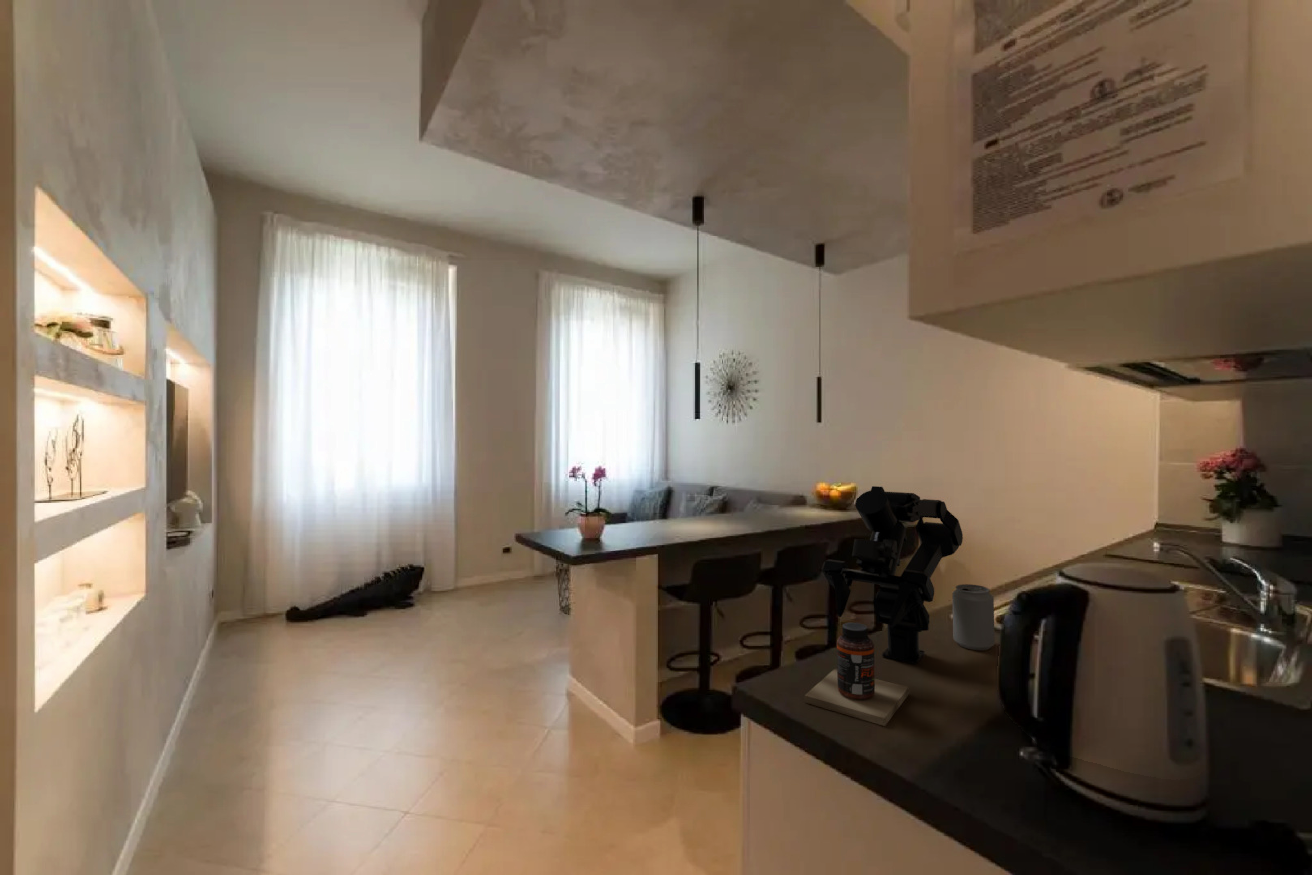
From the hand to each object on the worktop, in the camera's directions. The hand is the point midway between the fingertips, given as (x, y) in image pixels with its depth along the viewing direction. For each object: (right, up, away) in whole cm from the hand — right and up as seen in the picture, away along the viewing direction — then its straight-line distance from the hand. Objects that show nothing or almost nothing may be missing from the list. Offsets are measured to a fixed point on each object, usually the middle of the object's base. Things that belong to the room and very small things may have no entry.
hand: (864, 621), depth 99 cm
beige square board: (-2, -12, -3) cm, 13 cm away
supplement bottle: (-3, -11, -4) cm, 12 cm away
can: (+30, -11, +19) cm, 37 cm away
